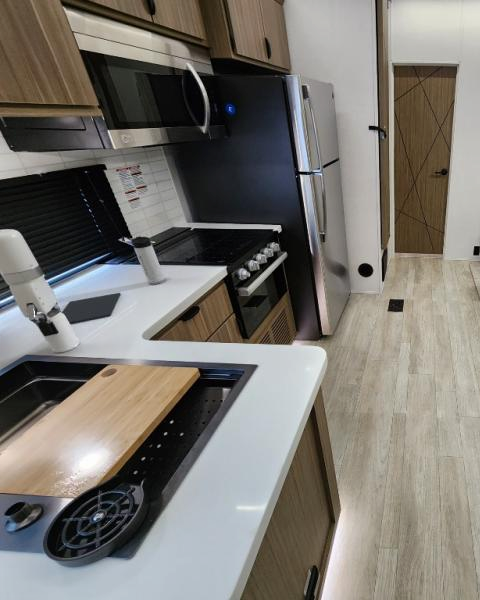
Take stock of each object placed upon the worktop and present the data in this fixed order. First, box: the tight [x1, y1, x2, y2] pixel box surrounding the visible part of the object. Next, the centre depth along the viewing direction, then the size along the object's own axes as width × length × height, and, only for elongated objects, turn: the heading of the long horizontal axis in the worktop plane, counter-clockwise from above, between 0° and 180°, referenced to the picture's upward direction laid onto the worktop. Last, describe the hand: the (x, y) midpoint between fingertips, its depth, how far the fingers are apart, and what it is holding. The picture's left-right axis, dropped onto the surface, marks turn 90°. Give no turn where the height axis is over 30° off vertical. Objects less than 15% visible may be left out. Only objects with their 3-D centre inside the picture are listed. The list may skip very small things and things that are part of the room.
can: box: [36, 309, 81, 354], centre depth 101 cm, size 6×6×12 cm
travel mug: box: [130, 235, 166, 286], centre depth 141 cm, size 6×7×20 cm
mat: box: [61, 292, 122, 325], centre depth 124 cm, size 16×20×1 cm
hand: (55, 328), depth 100 cm, fingers closed on can, 6 cm apart
